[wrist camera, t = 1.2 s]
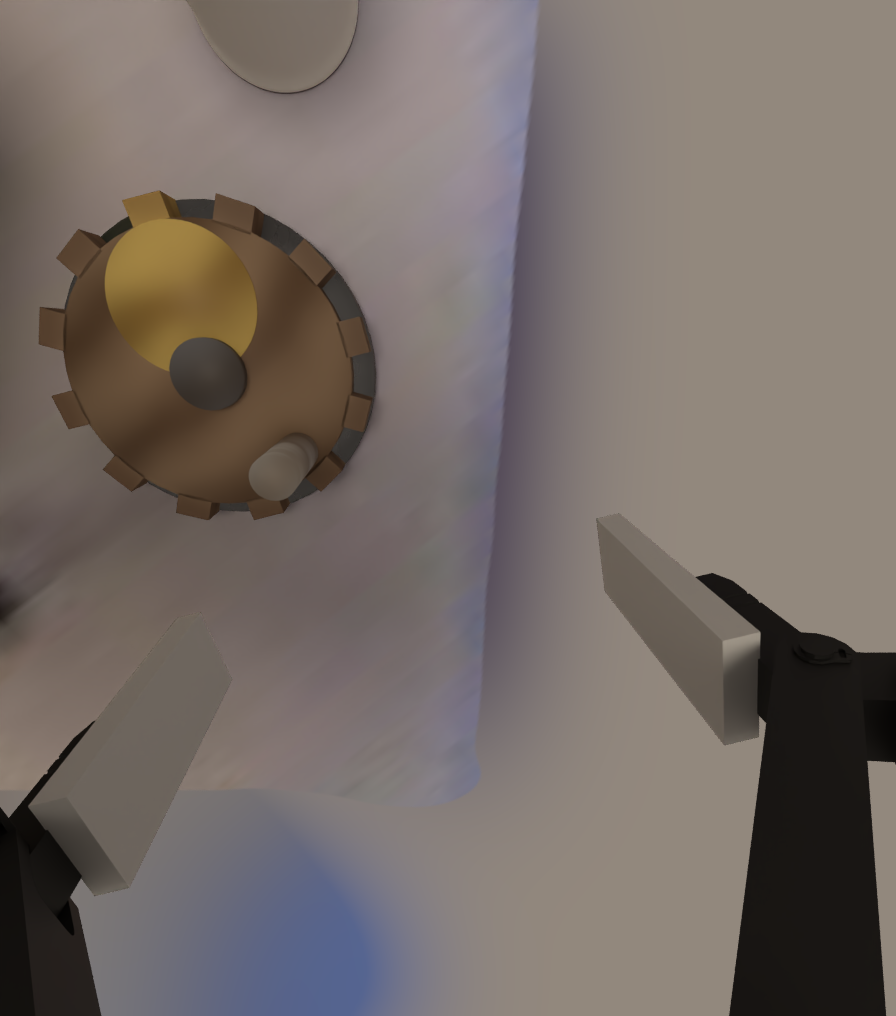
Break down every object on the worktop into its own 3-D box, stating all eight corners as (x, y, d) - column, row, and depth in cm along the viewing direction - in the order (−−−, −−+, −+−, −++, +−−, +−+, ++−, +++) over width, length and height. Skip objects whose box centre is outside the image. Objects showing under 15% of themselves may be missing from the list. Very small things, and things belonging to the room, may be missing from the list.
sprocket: (-3, 367, 29) (-142, 378, 22) (191, 116, 26) (103, 29, 18) (246, 562, 34) (203, 623, 27) (433, 375, 31) (441, 388, 24)
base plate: (9, 366, 30) (-2, 366, 29) (199, 121, 27) (192, 115, 26) (251, 557, 35) (248, 562, 35) (434, 374, 32) (435, 375, 31)
